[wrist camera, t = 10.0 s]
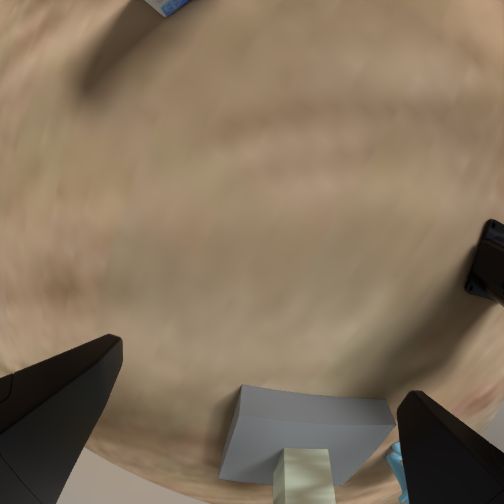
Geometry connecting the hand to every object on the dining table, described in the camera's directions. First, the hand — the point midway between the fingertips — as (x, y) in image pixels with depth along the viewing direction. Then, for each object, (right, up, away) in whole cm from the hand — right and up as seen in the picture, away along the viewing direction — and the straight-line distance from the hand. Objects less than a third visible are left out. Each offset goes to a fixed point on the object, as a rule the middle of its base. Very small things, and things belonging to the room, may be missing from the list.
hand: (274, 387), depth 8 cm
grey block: (+4, -14, +18) cm, 23 cm away
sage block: (+4, -16, +14) cm, 22 cm away
